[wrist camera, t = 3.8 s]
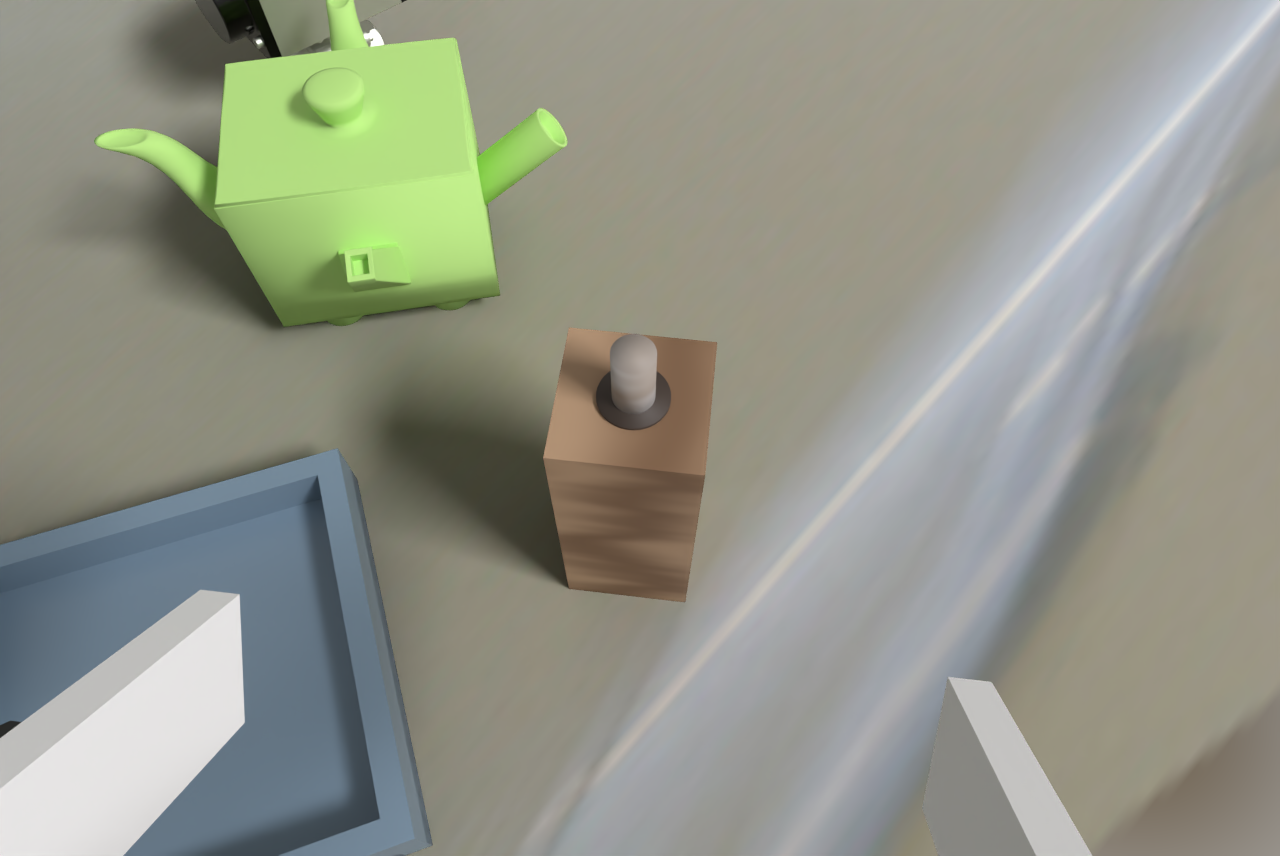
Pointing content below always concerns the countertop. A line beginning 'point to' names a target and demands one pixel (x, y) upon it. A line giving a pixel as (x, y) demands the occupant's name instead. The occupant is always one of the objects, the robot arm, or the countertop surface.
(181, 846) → the tray
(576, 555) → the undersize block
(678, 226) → the countertop surface
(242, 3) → the pneumatic valve
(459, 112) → the kettle
